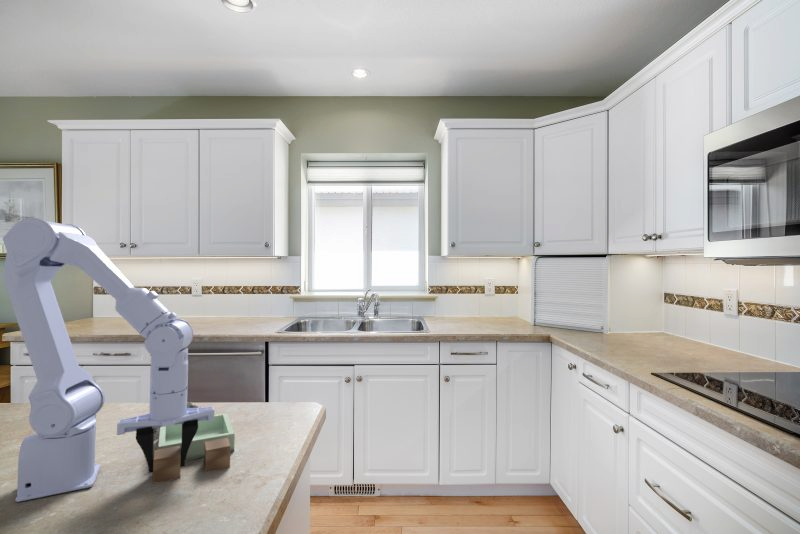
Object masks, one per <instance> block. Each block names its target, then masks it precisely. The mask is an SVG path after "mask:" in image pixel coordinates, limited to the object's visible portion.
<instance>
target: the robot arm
mask: <svg viewBox="0 0 800 534" xmlns="http://www.w3.org/2000/svg"><path fill="white" fill-rule="evenodd" d="M2 241H3V243H4V244H3V245H4V247H5V250H6V255H5V260H4V267H3V271H2V280H3V283H4V287H5V289H6V291H7V294H8V298H9V300H10V303H11V306H12V309H13V312H14V314H15V318H16V320H17V324H18V326H19V330H20V333H21V336H22V338H23V341H24V344H25V347H26V350H27V353H28V357H29V358H30V361H31V365H32V367H33V371H34V373H35V376H36V379H37V380H36V383H35V384H34V386H33V387H32V390H31V391H30V393H29V394H28V400H29V404H30V411H29V416H28V423H29V425H30V428H31V429H32V430H33V431H34V432H35V433H32V434H28V435H25V436H24V437H23V440H22V442H21V444H20V447H19V448H20V449H19V453H18V461H17V462H18V463H17V464H18V465H17V486H16V488H17V490H16V491H17V492H16V497H15V502H18V503H19V502H24V501H28V500H33V499H40V498H43V497H48V496H53V495H58V494H64V493H68V492H73V491H77V490H82V489H83V490H84V489H88V488H92V487H93V486H94V484H95V482H96V479H97V476H98V474H99V471H100V468H101V463H95V462H96V431H97V430H96V429H97V414H98V413H99V412H100V410H101V409H102V408H103V406H104V404H105V393H104V390H103V388H101V387H100V386H99V385H98V384H97V383H96V382H95V380H94V379H93V376H92V373H90V372H89V371H88V370H86V369H84V368H82V367H80V365H79V362H78V358H77V357H76V352H75V349H74V347H73V344H72V342H71V341H72V340H71V339H70V335H69V332H68V330H67V325H66V323H65V320H64V318H63V314H62V312H61V308H60V306H59V303H58V300H57V296H56V294H55V291H54V287H53V285H52V283H51V282H52V279H54V277H56V275H57V273H58V272H59V271H60V270H62V268H64V267H65V266H67V265H70V266H74V267H77V268H79V269H81V271H83V272H84V273H85V274H86V275H87V276H88V277H89V278H91V279H92V280H93V281H94V282H95V283H96V284H97V285H98V286H100V287H101V288H102V289H104V291H106V293H108V295H110V296H111V297H112V298H114V300H115V308H114V309H115V311H116V312H117V314H119V316H121V317H122V318H123V319H124V320H125V321H126V322H127V323H128V324H129V325H130V326H131V327H132V328H133V329H134V330H135V331H136V332H138V334H139V335H140V336H141V337H143V338H144V339H145V340H144V347H145V350H146V351H147V352H148V354H150V357H151V358H150V377H149V378H150V379H149V380H150V385H149V410H148V411H149V413H146V414H142V415H137V416H133V417H128V418H121V419H119V420H118V421H117V423H116V425H117V427H116V429H117V430H116V435H117V436H121V435H122V436H123V435H126V433H131V432H136V433H135V440H136V442H137V444H138V445H139V447H140V449H141V451H142V452H143V454H144V458H145V460H146V464H147V468H148V474H153V460H154V451H155V449H154V445H155V444H154V443H155V440H154V439H155V431H154V428H158V427H165V426H172V425H178V424H182V444H181V461H180V468H182V467H185V464H186V461H185V459H186V456H187V452H188V449H189V447H190V444H191V442H192V440H193V438H194V436H195V434H196V432H197V430H198V421H204V420H207V421H212V420H214V415H215V408H214V406H209V407H208V406H206V407H201V408H200V407H199V408H187V403H188V386H189V382H188V381H189V348H188V347H189V345H190V344H191V343H192V341H193V338H194V330H193V328H192V327H191V325H190V323H189V321H188V320H186V319H183V318H177V317H178V314H177V313H176V312H174V311H173V312H171V311H170V310H169V309H168V308H167V307H166V306H164V304H163V303H162V302H161V301H159V299H158V297H159V296H160V295H159V294H158V293H157V292H156V291H155V290H149V289H148V288H146V287H135V286H134V285H133V283H131V282H130V280H129V279H128V278H127V277H126V276H125V274H124V273H122V272H121V271H120V269H119V268H118V267H117V266H116V265H115V264H114V263H113V262H112V261H111V259H109V257H108V256H107V255H106V254H105V253H104V252H103V250H102V249H101V248H100V247H99V245H98V244H97V243H96V241H95V239H93V238H92V237H90V236H89V235H86V233H85V231H84V230H83V229H82V228H80V227H79V226H77V225H75V224H70V223H61V222H60V223H59V222H54V221H48V220H44V219H42V218H38V217H26V218H22V219H21V220H19V221H17V222H16V223H14V225H13V226H11V228H10V229H9V230H8V231H7V232H6V234H5V235H4V236H3V237H2Z"/></svg>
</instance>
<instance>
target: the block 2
mask: <svg viewBox="0 0 800 534" xmlns="http://www.w3.org/2000/svg"><path fill="white" fill-rule="evenodd" d="M203 458H204V459H203V460H204V461H203V463H204V470H205V471H204V472H205V473H211V472H214V471H219V470H224V469H228V468H231V452H230V443H229V440H228V438H224V439H219V440H213V441H208V442H205V454H204V457H203Z"/></svg>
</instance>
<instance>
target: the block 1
mask: <svg viewBox="0 0 800 534" xmlns="http://www.w3.org/2000/svg"><path fill="white" fill-rule="evenodd" d="M180 461H181V449H180V446H176V447H171V448H165V449H159V450H158V449H154V460H153V473H152V484H157V483H162V482H168V481H171V480H176V479H181V467H180Z"/></svg>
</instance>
